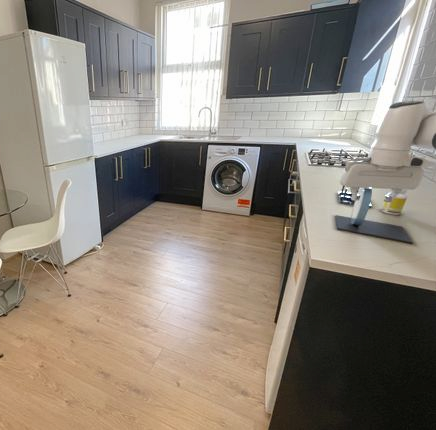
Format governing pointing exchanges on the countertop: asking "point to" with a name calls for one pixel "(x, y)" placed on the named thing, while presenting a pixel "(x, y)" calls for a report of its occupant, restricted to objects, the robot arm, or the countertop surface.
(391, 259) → the countertop surface
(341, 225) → the mat
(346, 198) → the dish rack
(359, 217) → the plate
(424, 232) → the countertop surface
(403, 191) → the supplement bottle
